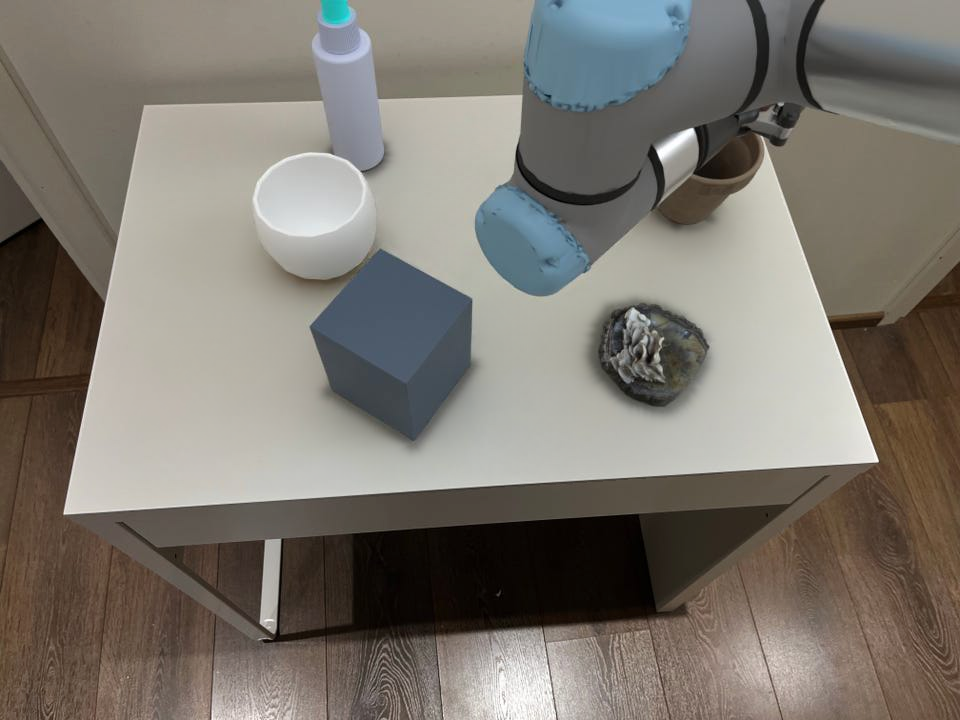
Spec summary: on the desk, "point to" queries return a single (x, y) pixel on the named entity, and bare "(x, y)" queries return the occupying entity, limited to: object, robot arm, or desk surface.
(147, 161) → the desk surface
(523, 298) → the desk surface
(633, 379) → the grey rough lump
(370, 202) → the cup
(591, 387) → the desk surface
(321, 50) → the spray bottle
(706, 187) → the flower pot
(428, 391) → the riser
